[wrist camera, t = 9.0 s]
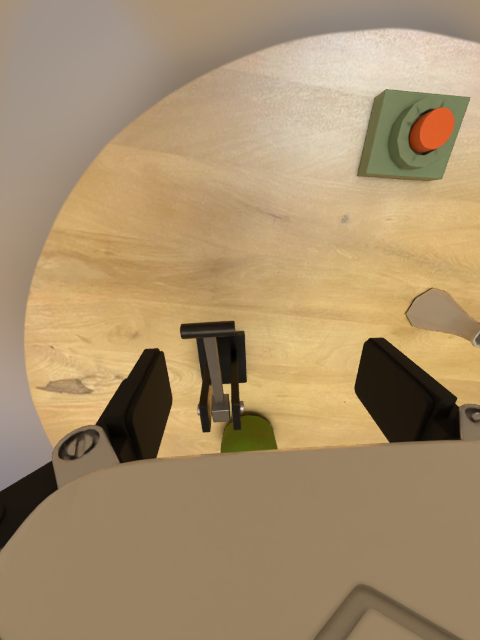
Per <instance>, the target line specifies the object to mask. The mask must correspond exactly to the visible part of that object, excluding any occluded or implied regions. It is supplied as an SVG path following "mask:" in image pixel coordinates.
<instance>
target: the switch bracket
mask: <svg viewBox="0 0 480 640" xmlns="http://www.w3.org/2000/svg"><path fill="white" fill-rule="evenodd" d="M196 340H197V347H198V354H199V361H200V368H201V375H202V388H201V395H200V402H199V404H198V408H197V411H198V415H200V418H201V425H202V431H203V432H210V430H211V417H212V412H211V406H212V395H213V388H212V383H211V378H210V372H209V367H208V361H207V356H206V351H205V345H204V340H203V338H196ZM216 342H217V349H218V356H219V364H220V371H221V378H222V384H231V404H232V417H233V429H234V430H241V416H240V412H244V403H243V401H240V399H239V383H246V382H247V377H246V354H245V334H244V331H239V332H235V336H225V337H216Z"/></svg>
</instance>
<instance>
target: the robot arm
mask: <svg viewBox="0 0 480 640" xmlns="http://www.w3.org/2000/svg"><path fill="white" fill-rule="evenodd" d="M355 393H356V395H357V397H358V398H359V399H360V401H361V402H362V404H363V405H364V407H365V408H366V409H367V411H368V412H369V414H370V415H371V417H372V418H373V419H374V421H375V422H376V424H377V425H378V427H379V428H380V430H381V431H382V432H383V434H384V435H385V437H386V438H387V440H388V441H389V442H390V443H378V444H359V445H342V446H325V447H308V448H292V449H276V450H260V451H245V452H230V453H215V454H200V455H188V456H175V457H164V458H156V457H157V454H158V450H159V447H160V444H161V440H162V437H163V433H164V430H165V426H166V423H167V420H168V416H169V413H170V409H171V406H172V393H171V388H170V382H169V377H168V372H167V367H166V361H165V356H164V352H163V351H160V350H159V349H158V348H154V349H145V350H144V351H143V353H142V355H141V356H140V358H139V360H138V361H137V363H136V364H135V366H134V368H133V369H132V371H131V373H130V374H129V376H128V378H127V379H124V380H123V381H122V383H121V384H120V386H119V388H118V389H117V391H116V392H115V394H114V396H113V397H112V399H111V400H110V402H109V404H108V405H107V407H106V408H105V410H104V412H103V413H102V415H101V416H100V418H99V420H98V421H97V423H96V425H88V426H84V427H81V428H78V429H76V430H74V431H72V432H70V433H69V434H67V435H66V436H65V437H64V438H62V439H61V440H60V441H59V442H58V444H57V445H56V446H55V448H54V450H53V452H52V461H51V462H49V463H47V464H46V465H44V466H42V467H41V468H39V469H37V470H36V471H34V472H32V473H31V474H29V475H27V476H26V477H24V478H22V479H20V480H19V481H17V482H16V483H14V484H12V485H10V486H9V487H7V488H6V489H4V490H2V491H0V640H480V405H477V404H463V405H462V406H460V407H458V406H457V405H456V404H455V402H456V400H457V397H456V396H454V395H453V394H452V393H451V392H450V391H448V390H447V389H446V388H445V387H443V386H442V385H441V384H440V383H438V382H437V381H436V380H435V379H434V378H432V377H431V376H430V375H429V374H427V373H426V372H425V371H424V370H423V369H421V368H420V367H419V366H418V365H416V364H415V363H414V362H413V361H412V360H410V359H409V358H408V357H407V356H405V355H404V354H403V353H402V352H400V351H399V350H398V349H397V348H396V347H394V346H393V345H392V344H391V343H389V342H388V341H387V340H386V339H384V338H369V339H368V340H367V341H366V342H365V343H364V345H363V350H362V355H361V359H360V364H359V368H358V373H357V378H356V382H355Z"/></svg>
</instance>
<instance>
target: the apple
mask: <svg viewBox="0 0 480 640" xmlns="http://www.w3.org/2000/svg"><path fill="white" fill-rule="evenodd" d="M276 449H278V448H277V444H276V440H275V436H274V432H273V428H272V426H271V425H270V424H269V423H268V422H267V421H266V420H264V419H263V418H261V417H259V416H252V415H247V416H243V417H241V430H234V429H233V421H232V422H231V423H230V424H229V425H228V426H227V427H226V428H225V430H224V433H223V437H222V443H221V453H230V452H245V451H260V450H276Z"/></svg>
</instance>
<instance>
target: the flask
mask: <svg viewBox="0 0 480 640" xmlns="http://www.w3.org/2000/svg"><path fill="white" fill-rule="evenodd" d="M406 315H407V317H408V319H409V321H410V323H411V325H412V326H414V327H418V328H422V329H426V330H431V331H437V332H444V333H449V334H454V335H457V336H460V337H463V338H465V339H467V340H469V341H470V342H471V343H472V345H473V346H475V347H479V348H480V323H479V322H477V321H476V320H474V319H473V318H472V317H470V316H469V315H468V314H467V313H466V312H465V311H464V310H463V309H462V308H461V307H460V306H459V305H458V304H457V302H456V301H455V300H454V299H453V298H452V297H451V296H450V295H449V294H448V293H447V292H444V291H441V290H437V289H434V288H432V289H430V290H429V291H427V292H425V293H424V294H422V295H421V296H419V297H417V298H416V299H415V300H414V302H413V304H412V305H411V307H410V309H409V310H408V312H407V314H406Z"/></svg>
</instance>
